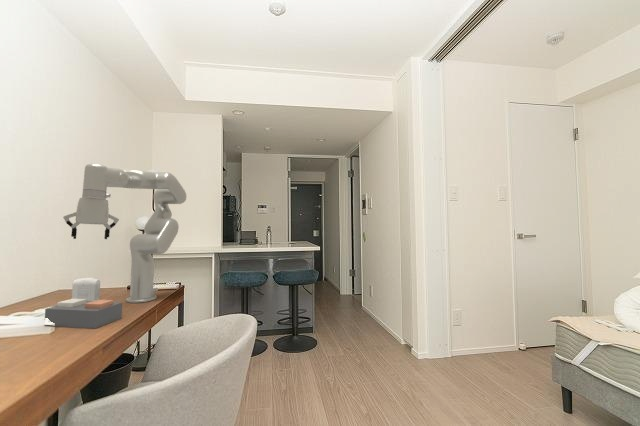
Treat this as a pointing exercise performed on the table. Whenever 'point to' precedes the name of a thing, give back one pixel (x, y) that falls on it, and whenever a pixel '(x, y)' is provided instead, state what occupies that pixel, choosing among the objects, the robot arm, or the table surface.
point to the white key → (71, 303)
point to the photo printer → (86, 289)
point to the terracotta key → (99, 304)
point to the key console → (84, 315)
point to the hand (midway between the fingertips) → (90, 239)
